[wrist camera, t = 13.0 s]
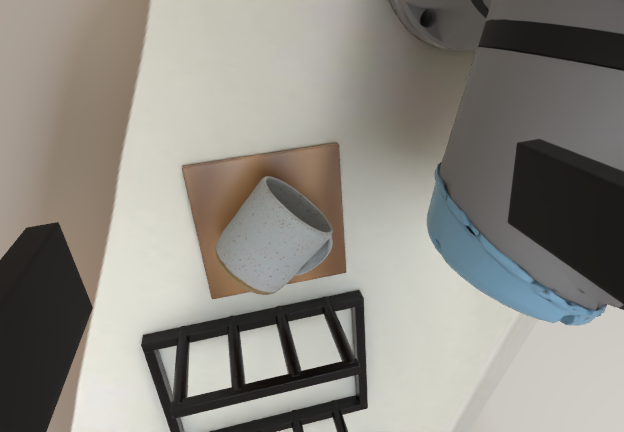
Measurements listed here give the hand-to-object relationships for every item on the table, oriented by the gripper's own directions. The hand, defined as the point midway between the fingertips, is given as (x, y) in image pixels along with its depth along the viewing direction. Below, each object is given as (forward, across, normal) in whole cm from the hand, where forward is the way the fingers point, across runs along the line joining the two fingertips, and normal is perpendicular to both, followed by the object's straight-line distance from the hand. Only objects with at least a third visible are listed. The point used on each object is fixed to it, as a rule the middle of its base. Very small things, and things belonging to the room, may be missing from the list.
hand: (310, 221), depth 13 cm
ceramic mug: (+26, +1, -13) cm, 29 cm away
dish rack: (+27, -3, -32) cm, 41 cm away
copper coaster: (+27, +1, -13) cm, 30 cm away
